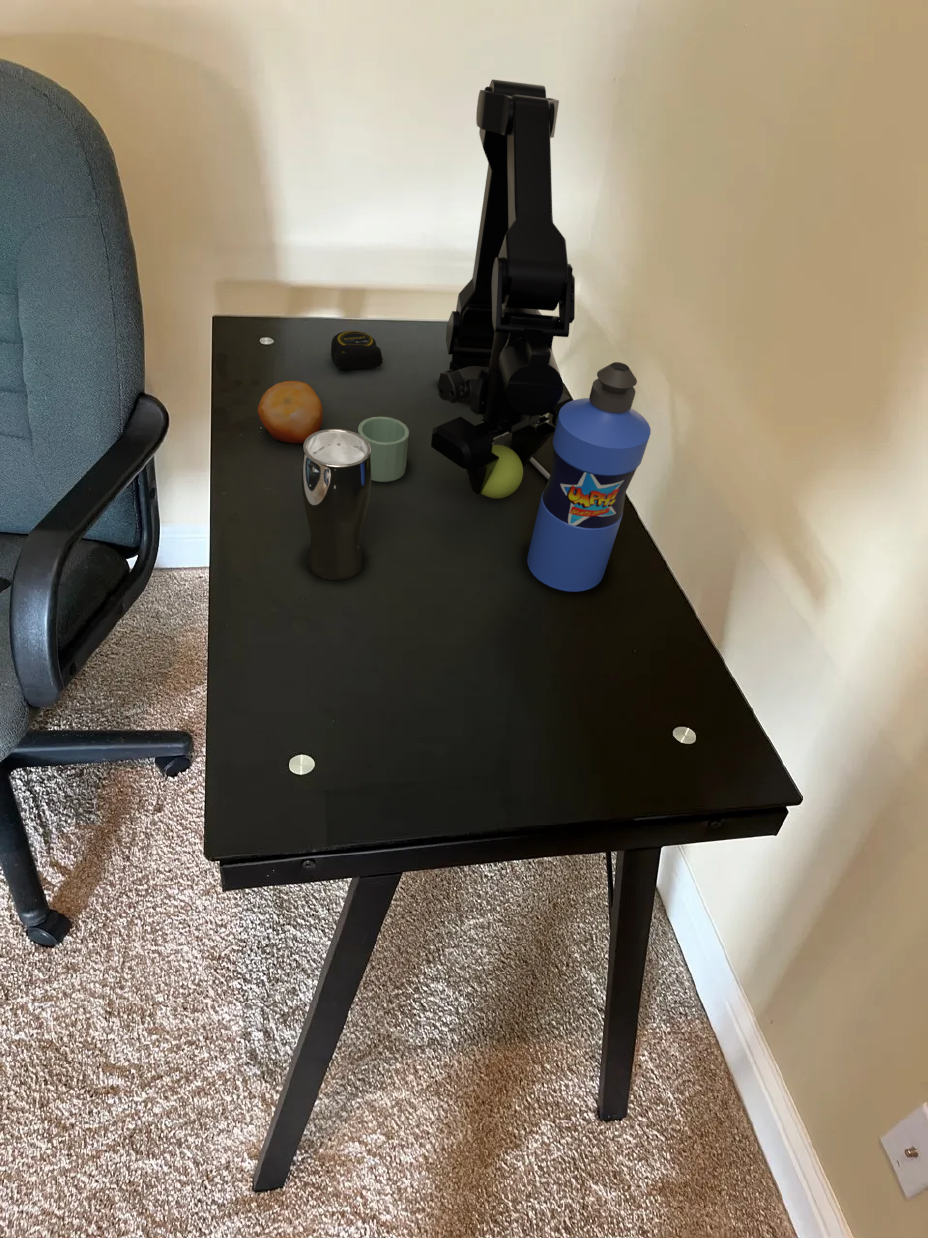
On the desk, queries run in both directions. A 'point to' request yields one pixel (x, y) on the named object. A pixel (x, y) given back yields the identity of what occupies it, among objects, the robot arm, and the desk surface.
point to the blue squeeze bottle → (588, 482)
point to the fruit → (291, 411)
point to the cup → (386, 447)
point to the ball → (504, 473)
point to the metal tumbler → (336, 500)
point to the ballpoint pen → (539, 468)
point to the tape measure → (355, 350)
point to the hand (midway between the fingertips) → (494, 483)
